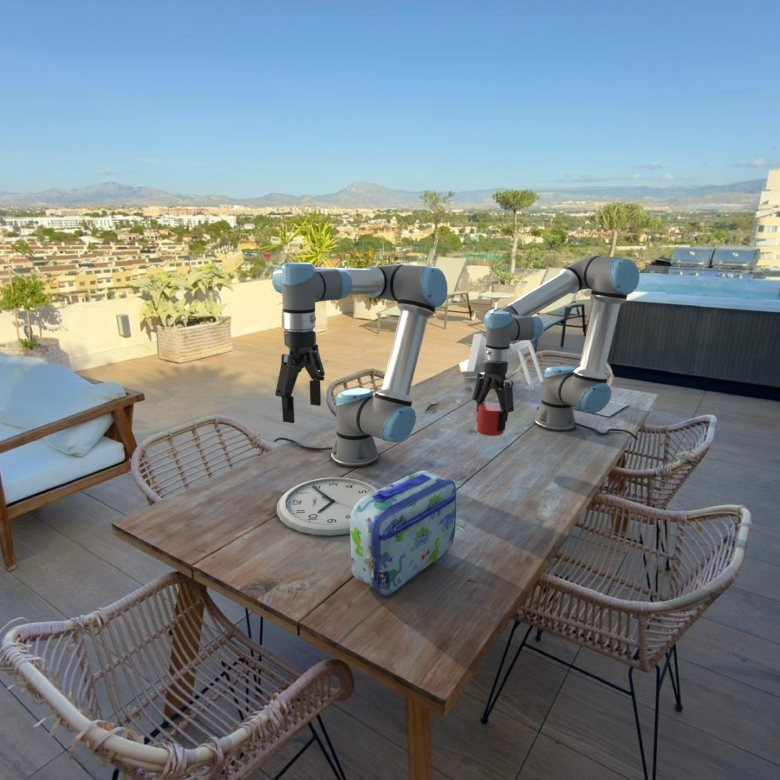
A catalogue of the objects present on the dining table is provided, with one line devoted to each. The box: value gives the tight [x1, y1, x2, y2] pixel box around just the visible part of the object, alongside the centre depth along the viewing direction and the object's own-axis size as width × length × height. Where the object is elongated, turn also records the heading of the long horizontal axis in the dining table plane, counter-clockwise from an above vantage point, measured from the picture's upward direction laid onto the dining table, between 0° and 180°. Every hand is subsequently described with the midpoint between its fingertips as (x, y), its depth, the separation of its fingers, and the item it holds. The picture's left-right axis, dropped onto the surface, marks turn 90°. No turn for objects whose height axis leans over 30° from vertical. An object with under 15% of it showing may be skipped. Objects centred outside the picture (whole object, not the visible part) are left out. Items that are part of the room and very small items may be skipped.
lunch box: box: [349, 470, 457, 597], centre depth 114 cm, size 26×11×21 cm, turn 134°
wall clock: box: [276, 476, 380, 537], centre depth 142 cm, size 30×2×30 cm
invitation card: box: [573, 399, 629, 418], centre depth 226 cm, size 21×1×15 cm
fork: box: [425, 396, 439, 412], centre depth 222 cm, size 3×16×2 cm, turn 160°
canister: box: [476, 402, 504, 437], centre depth 173 cm, size 9×9×9 cm
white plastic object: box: [458, 333, 544, 391], centre depth 258 cm, size 37×45×31 cm
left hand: (302, 413), depth 131 cm, fingers open, 13 cm apart
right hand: (490, 426), depth 174 cm, fingers closed on canister, 9 cm apart
